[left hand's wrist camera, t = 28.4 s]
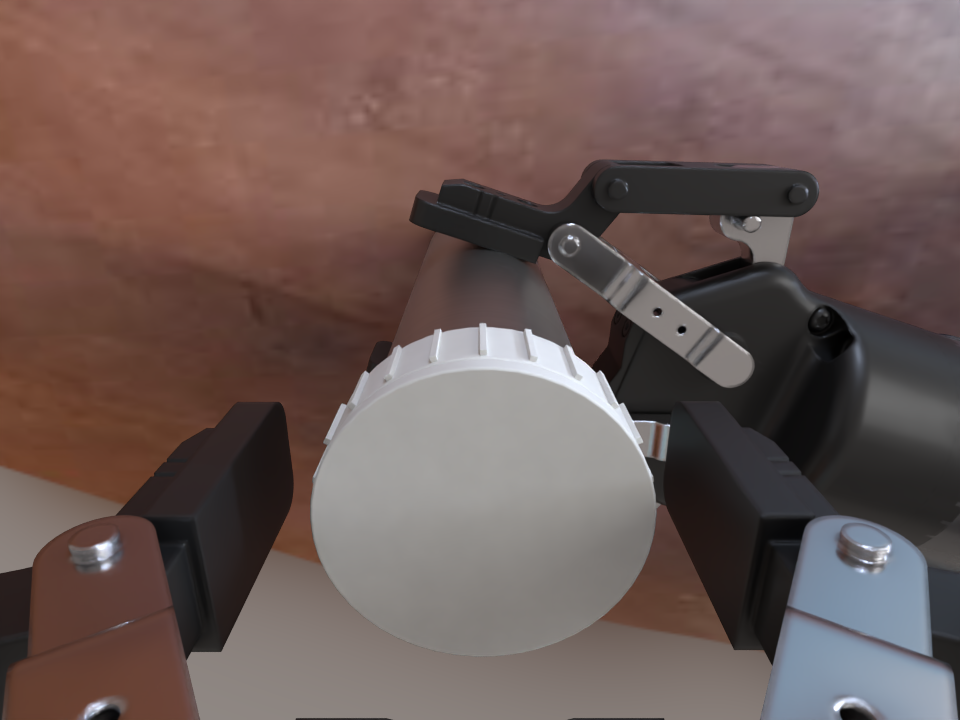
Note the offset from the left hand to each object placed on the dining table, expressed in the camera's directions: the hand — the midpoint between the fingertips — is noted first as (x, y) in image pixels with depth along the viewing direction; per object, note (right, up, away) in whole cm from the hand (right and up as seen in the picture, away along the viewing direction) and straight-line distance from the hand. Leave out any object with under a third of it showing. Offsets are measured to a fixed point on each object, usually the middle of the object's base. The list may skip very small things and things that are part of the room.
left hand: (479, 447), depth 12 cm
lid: (0, -1, -2) cm, 2 cm away
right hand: (-3, +4, +7) cm, 8 cm away
